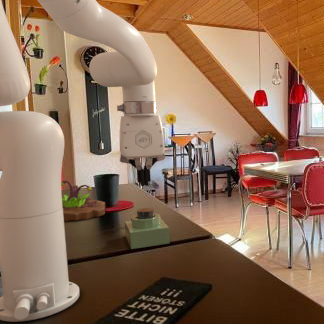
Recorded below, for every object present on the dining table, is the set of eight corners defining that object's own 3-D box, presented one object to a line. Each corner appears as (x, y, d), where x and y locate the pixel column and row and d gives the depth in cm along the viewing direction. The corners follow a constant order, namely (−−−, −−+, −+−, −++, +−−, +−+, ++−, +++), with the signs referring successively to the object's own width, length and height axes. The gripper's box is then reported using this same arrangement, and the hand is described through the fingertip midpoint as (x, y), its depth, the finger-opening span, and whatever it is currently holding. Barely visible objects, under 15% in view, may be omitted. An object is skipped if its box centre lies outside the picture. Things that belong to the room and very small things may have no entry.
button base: (169, 243, 94) (168, 219, 93) (131, 249, 90) (129, 224, 89) (160, 231, 104) (159, 209, 103) (125, 236, 100) (124, 213, 99)
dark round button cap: (155, 218, 95) (155, 210, 95) (138, 220, 93) (138, 212, 93) (152, 215, 99) (152, 207, 98) (136, 217, 97) (135, 209, 97)
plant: (44, 210, 131) (41, 177, 130) (105, 204, 138) (103, 173, 136) (33, 225, 113) (29, 187, 111) (104, 218, 119) (102, 182, 118)
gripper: (108, 110, 87) (113, 190, 89) (174, 109, 93) (177, 184, 95) (105, 110, 93) (110, 185, 96) (167, 109, 99) (170, 180, 102)
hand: (144, 184), depth 95 cm, fingers closed
